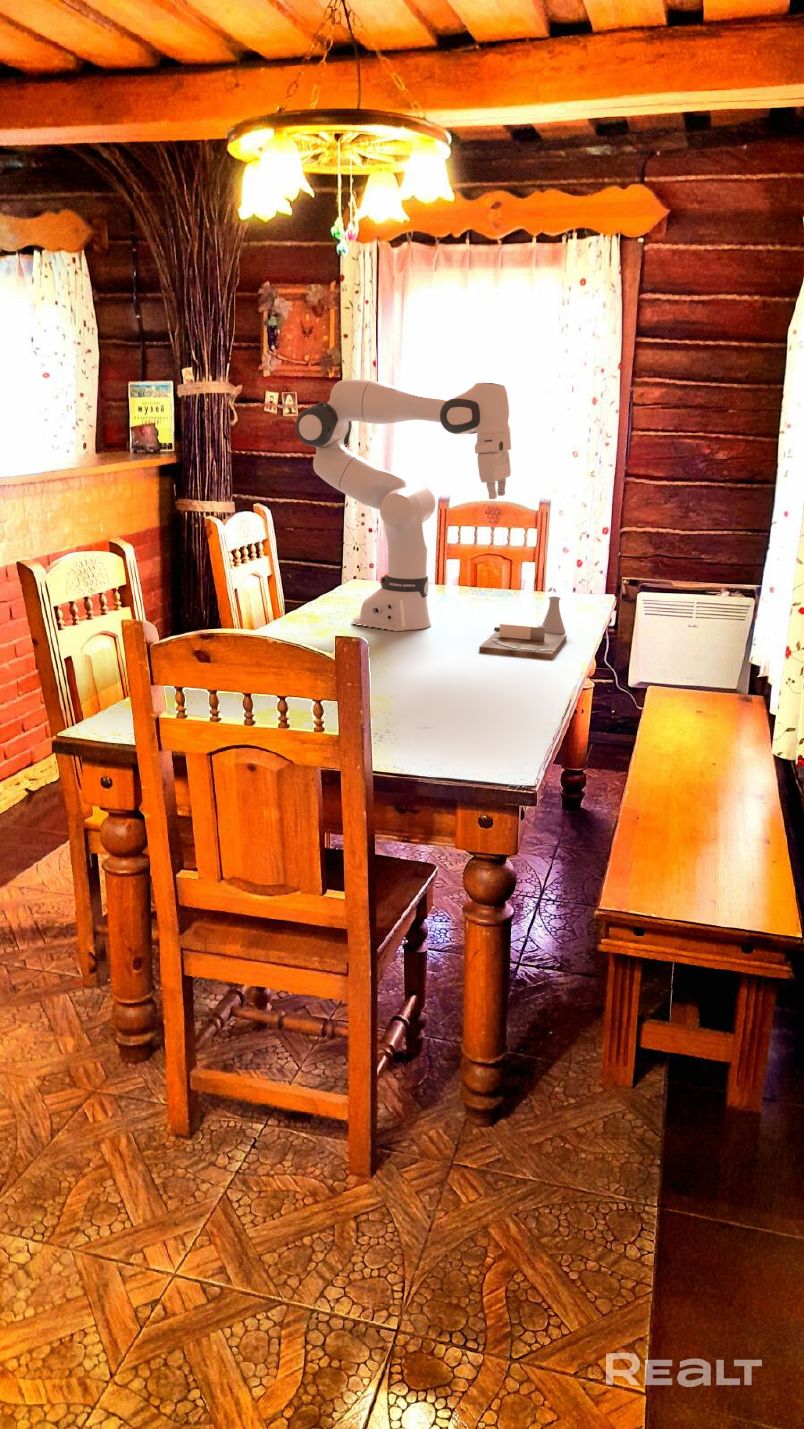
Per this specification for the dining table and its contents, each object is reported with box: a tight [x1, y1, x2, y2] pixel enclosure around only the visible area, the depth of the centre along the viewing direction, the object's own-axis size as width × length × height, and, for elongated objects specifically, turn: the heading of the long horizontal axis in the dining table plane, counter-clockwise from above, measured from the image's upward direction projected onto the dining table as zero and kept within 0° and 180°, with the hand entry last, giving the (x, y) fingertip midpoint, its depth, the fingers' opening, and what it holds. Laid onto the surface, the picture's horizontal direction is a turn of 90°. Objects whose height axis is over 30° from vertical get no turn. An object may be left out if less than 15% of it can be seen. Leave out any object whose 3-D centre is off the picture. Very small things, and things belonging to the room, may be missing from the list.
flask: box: [541, 595, 566, 635], centre depth 292 cm, size 7×7×10 cm
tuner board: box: [478, 631, 568, 660], centre depth 277 cm, size 19×22×2 cm
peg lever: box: [493, 621, 545, 641], centre depth 278 cm, size 14×4×4 cm, turn 72°
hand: (497, 497), depth 280 cm, fingers open, 8 cm apart
